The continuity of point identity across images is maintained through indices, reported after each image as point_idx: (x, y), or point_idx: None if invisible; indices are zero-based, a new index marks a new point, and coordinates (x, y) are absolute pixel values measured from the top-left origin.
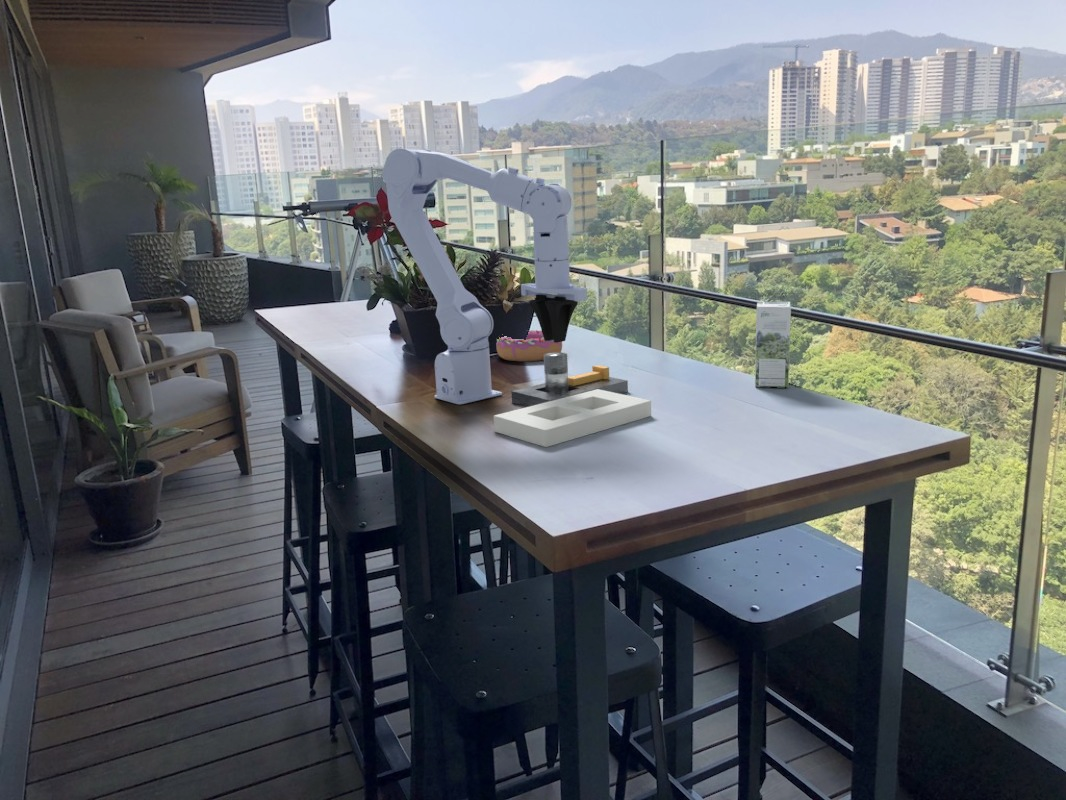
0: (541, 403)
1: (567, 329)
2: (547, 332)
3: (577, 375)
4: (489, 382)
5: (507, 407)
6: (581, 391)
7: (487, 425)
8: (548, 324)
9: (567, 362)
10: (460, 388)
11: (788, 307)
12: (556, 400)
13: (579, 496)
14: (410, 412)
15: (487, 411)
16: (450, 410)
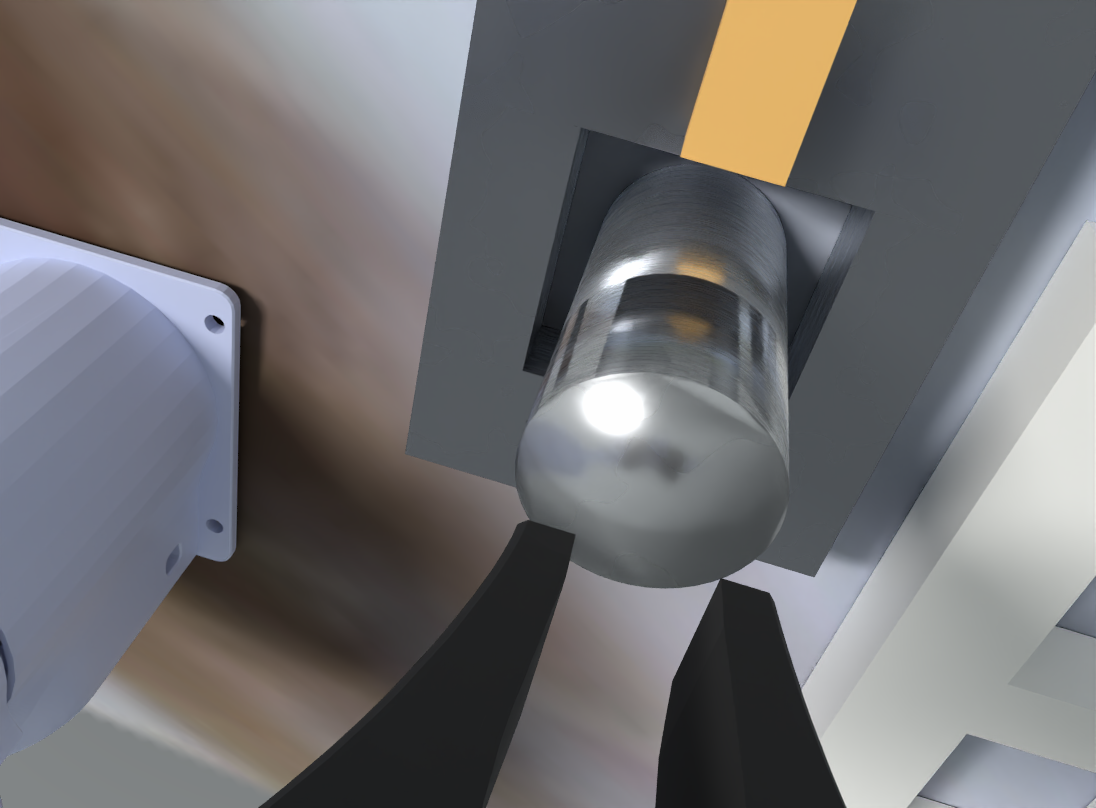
0: (841, 707)
1: (809, 718)
2: (517, 718)
3: (739, 21)
4: (155, 404)
5: (489, 501)
6: (944, 301)
7: (628, 759)
8: (486, 796)
9: (777, 391)
10: (158, 580)
11: None
12: (907, 641)
13: None
14: (154, 680)
15: (449, 590)
16: (271, 618)
